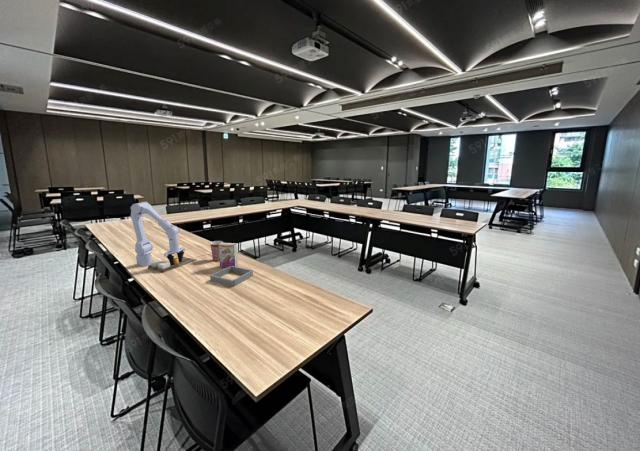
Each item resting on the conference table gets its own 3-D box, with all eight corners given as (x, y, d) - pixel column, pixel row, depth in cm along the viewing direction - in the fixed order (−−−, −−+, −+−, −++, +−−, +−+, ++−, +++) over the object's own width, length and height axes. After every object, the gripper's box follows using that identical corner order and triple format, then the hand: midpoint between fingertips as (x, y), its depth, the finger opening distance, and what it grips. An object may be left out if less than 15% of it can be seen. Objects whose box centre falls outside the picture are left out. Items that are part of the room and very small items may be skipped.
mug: (215, 263, 193) (214, 245, 190) (209, 260, 199) (207, 242, 196) (231, 258, 203) (230, 241, 200) (224, 256, 208) (223, 239, 205)
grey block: (151, 268, 180) (150, 262, 179) (158, 266, 184) (157, 260, 183) (156, 269, 178) (155, 264, 177) (163, 267, 182) (162, 261, 181)
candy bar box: (219, 267, 185) (217, 244, 182) (222, 264, 190) (221, 242, 186) (235, 268, 184) (233, 245, 181) (238, 265, 189) (236, 243, 185)
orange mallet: (158, 270, 177) (157, 263, 176) (176, 264, 188) (175, 257, 187) (163, 271, 175) (162, 264, 174) (180, 265, 186) (180, 258, 185)
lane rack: (148, 270, 180) (147, 265, 179) (183, 258, 203) (182, 254, 202) (163, 274, 173) (162, 269, 173) (197, 261, 197) (197, 257, 196)
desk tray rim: (209, 281, 164) (209, 275, 163) (231, 270, 180) (231, 265, 179) (233, 286, 156) (233, 281, 155) (253, 275, 172) (253, 270, 172)
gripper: (168, 248, 175) (170, 267, 178) (187, 242, 187) (189, 260, 190) (160, 246, 177) (163, 266, 180) (180, 241, 190) (182, 259, 193)
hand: (176, 263), depth 186 cm, fingers open, 5 cm apart
